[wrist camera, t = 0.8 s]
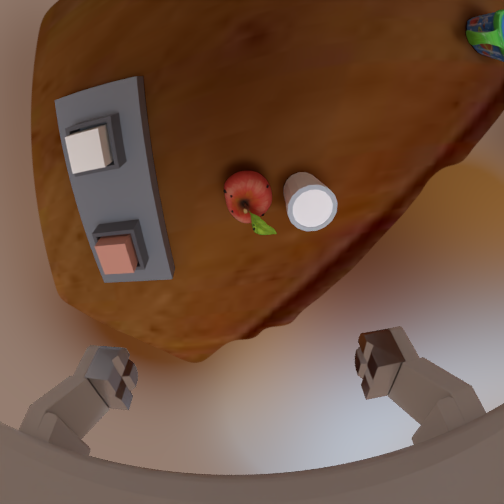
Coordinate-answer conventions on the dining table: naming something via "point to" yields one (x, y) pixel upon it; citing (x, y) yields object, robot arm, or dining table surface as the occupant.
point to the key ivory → (89, 149)
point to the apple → (249, 199)
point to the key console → (119, 176)
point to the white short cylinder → (309, 202)
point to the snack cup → (487, 34)
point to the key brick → (117, 254)
